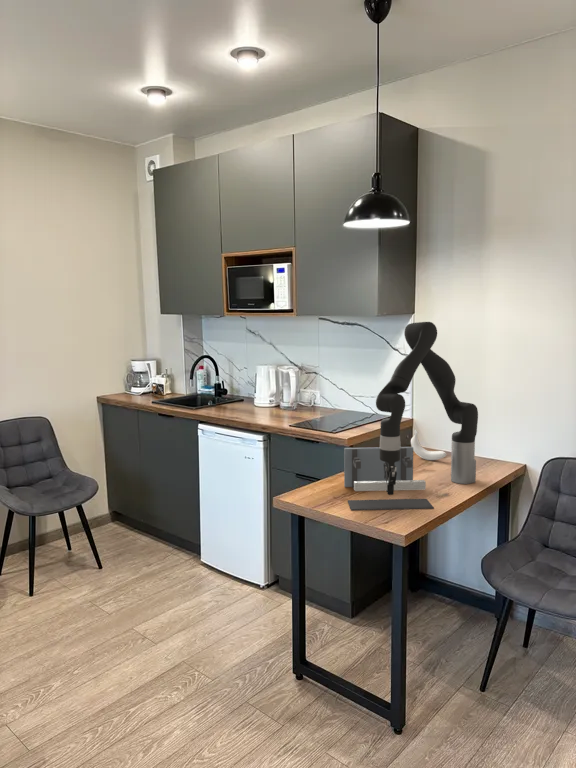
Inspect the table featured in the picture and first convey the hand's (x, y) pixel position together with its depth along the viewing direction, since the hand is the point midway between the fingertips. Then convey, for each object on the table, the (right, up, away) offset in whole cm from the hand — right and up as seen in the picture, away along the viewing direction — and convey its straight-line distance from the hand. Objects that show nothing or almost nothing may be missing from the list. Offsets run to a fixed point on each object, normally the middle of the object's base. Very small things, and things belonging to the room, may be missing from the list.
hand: (389, 493), depth 211 cm
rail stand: (0, -2, +18) cm, 18 cm away
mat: (0, -5, +1) cm, 4 cm away
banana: (+30, +3, +64) cm, 70 cm away
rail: (0, +1, 0) cm, 1 cm away
